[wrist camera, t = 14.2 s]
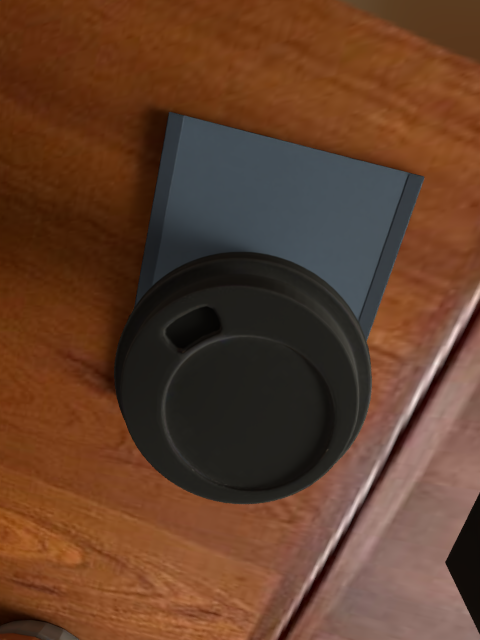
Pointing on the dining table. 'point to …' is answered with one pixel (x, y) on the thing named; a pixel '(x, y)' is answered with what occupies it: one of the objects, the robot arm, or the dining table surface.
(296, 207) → the cup mat
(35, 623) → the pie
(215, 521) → the dining table surface
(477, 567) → the robot arm
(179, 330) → the coffee cup
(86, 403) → the dining table surface
